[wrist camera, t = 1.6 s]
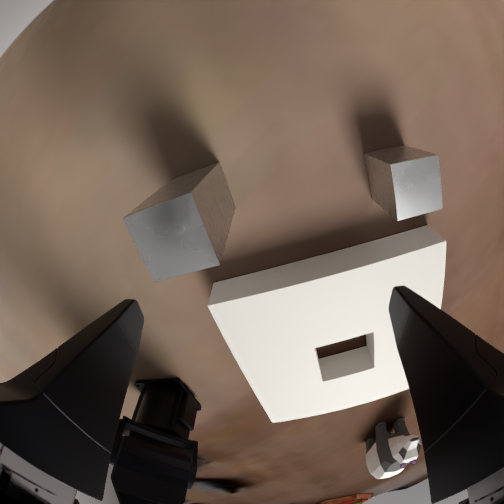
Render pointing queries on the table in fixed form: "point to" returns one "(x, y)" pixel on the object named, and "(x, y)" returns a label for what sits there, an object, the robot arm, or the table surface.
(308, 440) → the table surface
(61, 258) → the table surface
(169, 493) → the robot arm
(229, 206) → the long pin
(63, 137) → the table surface
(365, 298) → the hole block
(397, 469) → the giant panda
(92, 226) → the table surface
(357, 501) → the figurine with light
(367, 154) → the short pin
